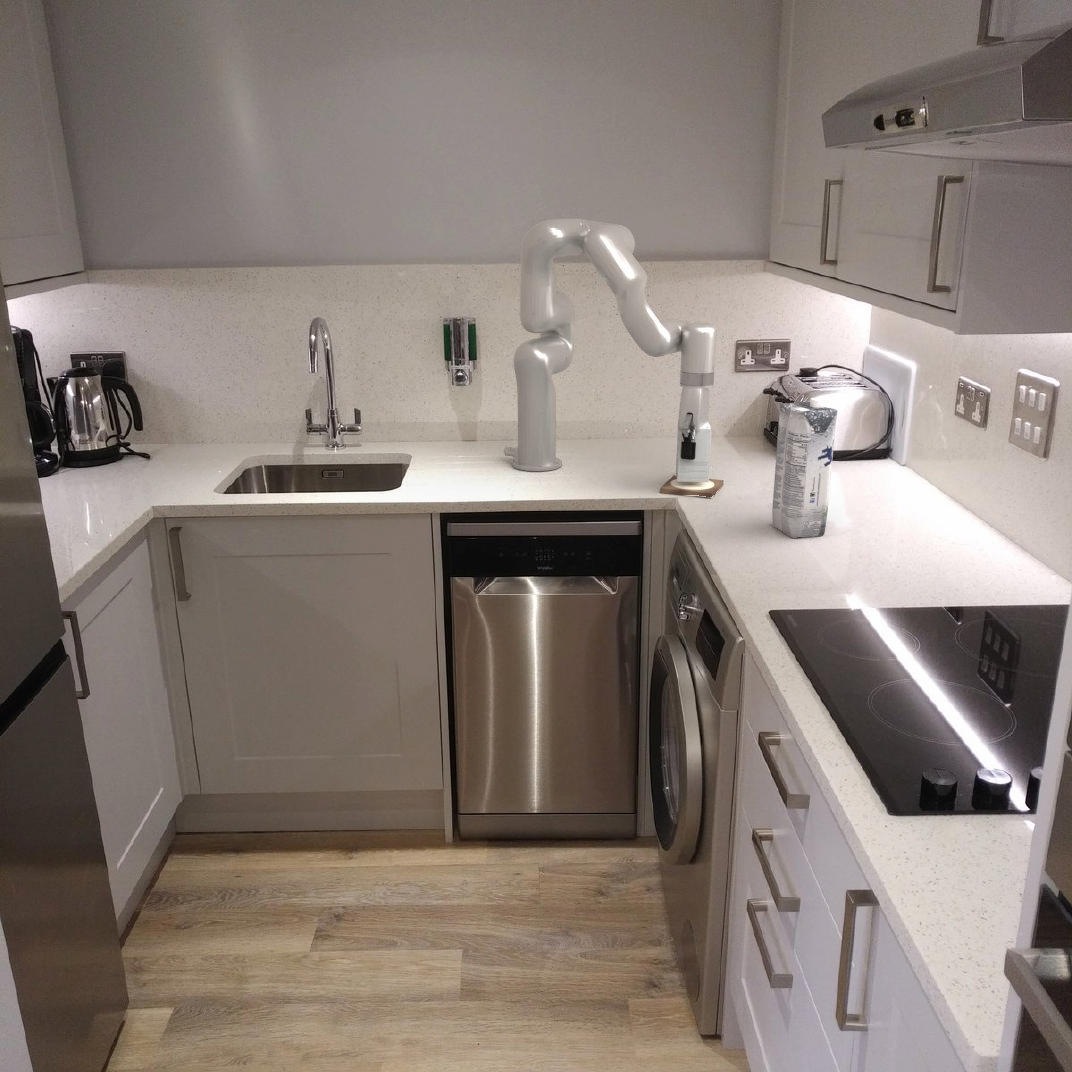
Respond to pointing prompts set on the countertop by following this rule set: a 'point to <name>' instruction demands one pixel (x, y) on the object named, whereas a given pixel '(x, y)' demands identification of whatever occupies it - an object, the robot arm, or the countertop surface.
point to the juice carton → (803, 467)
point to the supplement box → (700, 465)
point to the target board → (691, 487)
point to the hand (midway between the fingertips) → (692, 454)
